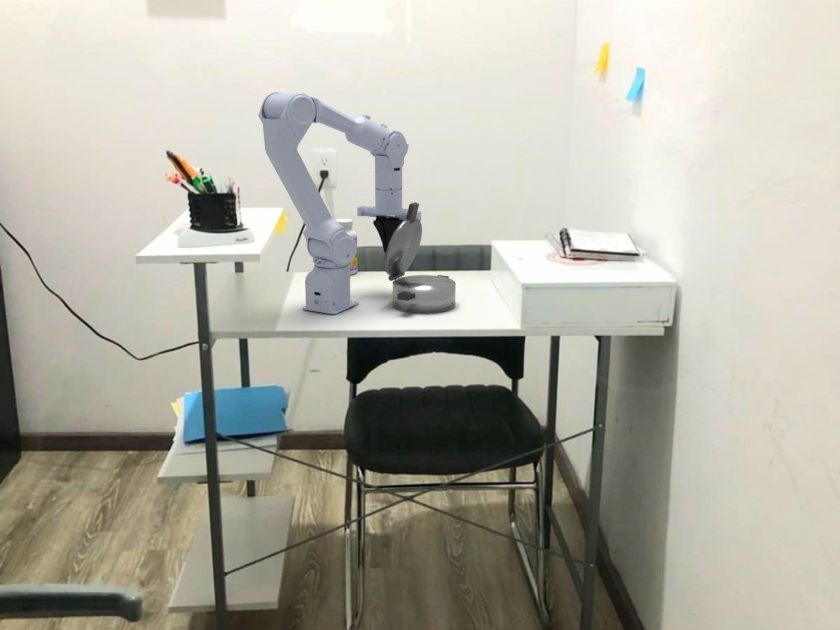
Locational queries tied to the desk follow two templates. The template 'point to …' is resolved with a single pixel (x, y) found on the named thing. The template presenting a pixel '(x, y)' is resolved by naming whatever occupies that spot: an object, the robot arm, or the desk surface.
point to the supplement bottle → (348, 228)
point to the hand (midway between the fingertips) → (389, 251)
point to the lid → (403, 244)
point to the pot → (424, 294)
